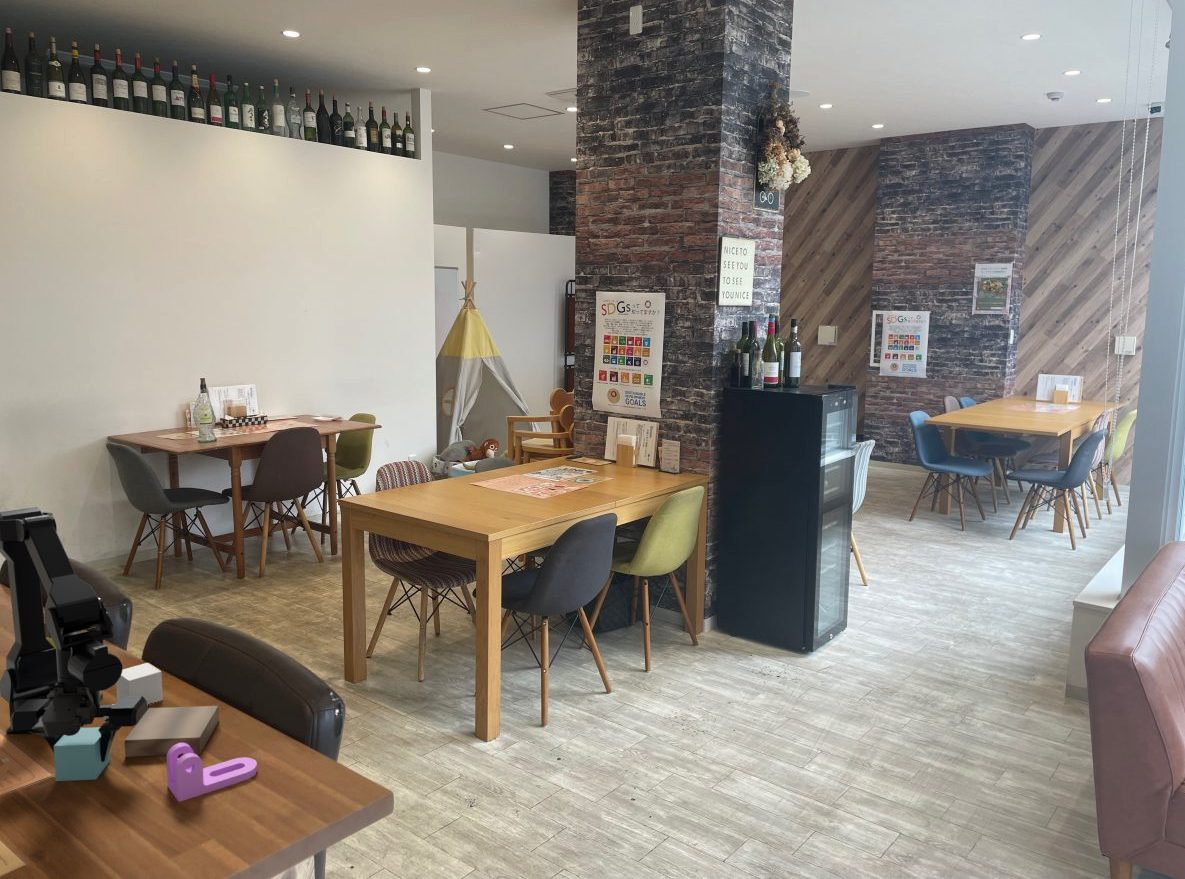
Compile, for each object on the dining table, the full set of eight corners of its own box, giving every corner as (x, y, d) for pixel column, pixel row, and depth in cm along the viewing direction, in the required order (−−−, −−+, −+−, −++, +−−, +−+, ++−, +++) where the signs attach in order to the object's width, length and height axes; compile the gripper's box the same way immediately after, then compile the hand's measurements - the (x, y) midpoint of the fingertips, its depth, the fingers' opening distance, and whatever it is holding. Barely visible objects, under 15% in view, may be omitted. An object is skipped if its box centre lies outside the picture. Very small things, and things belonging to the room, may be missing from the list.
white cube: (117, 701, 170) (115, 671, 169) (149, 691, 175) (147, 662, 174) (130, 710, 166) (129, 680, 165) (162, 700, 171) (161, 671, 170)
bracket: (179, 802, 137) (177, 760, 136) (167, 787, 141) (166, 746, 140) (262, 775, 146) (261, 735, 145) (249, 761, 150) (248, 723, 149)
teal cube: (55, 781, 142) (53, 746, 141) (71, 762, 148) (69, 728, 147) (96, 779, 143) (94, 744, 142) (110, 760, 148) (108, 726, 148)
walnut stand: (125, 756, 150) (124, 740, 149) (149, 723, 161) (149, 708, 161) (200, 753, 152) (199, 737, 151) (218, 721, 163) (218, 705, 163)
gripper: (-12, 695, 133) (-4, 791, 136) (121, 691, 136) (126, 785, 138) (24, 665, 144) (30, 754, 146) (146, 662, 147) (150, 749, 149)
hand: (83, 761), depth 145 cm, fingers closed on teal cube, 6 cm apart
